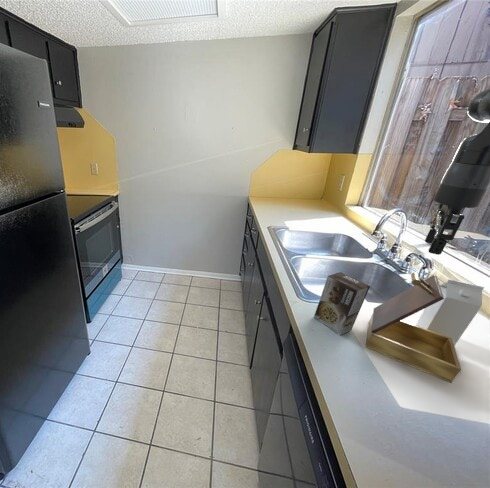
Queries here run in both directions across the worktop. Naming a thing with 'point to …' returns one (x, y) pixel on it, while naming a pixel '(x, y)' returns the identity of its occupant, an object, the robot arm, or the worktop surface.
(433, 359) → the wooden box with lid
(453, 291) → the milk carton
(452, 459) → the worktop surface
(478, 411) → the worktop surface
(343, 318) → the coffee box
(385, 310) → the cover
